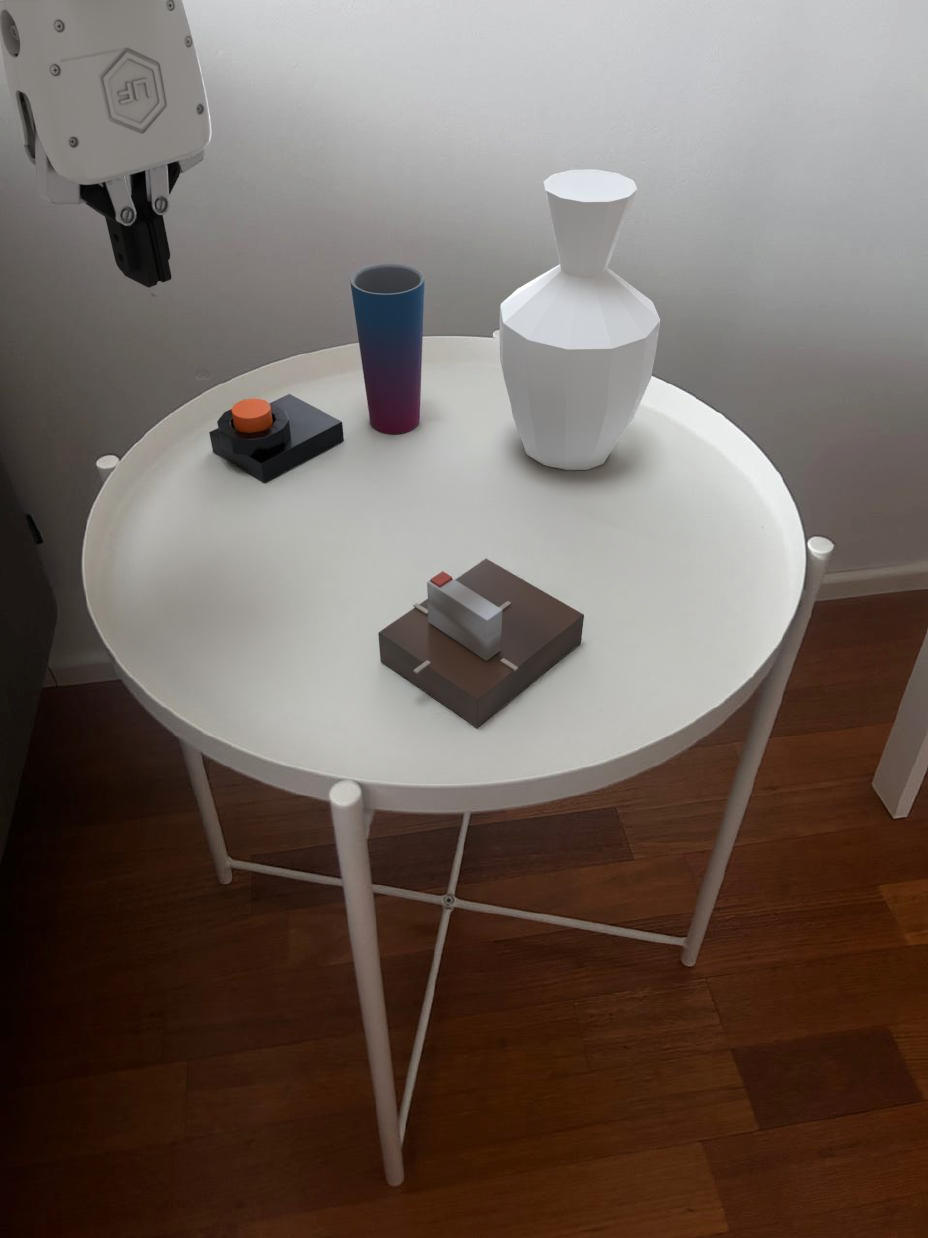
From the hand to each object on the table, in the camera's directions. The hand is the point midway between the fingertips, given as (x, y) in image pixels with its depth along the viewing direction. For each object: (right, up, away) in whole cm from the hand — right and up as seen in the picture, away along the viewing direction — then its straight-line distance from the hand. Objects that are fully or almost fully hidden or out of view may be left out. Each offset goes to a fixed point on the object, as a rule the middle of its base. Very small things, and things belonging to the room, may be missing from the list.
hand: (147, 277), depth 64 cm
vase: (+30, -5, +35) cm, 46 cm away
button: (0, -3, +31) cm, 31 cm away
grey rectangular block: (+20, -23, +10) cm, 32 cm away
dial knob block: (+22, -24, +13) cm, 35 cm away
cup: (+13, -2, +38) cm, 41 cm away
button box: (+2, -5, +35) cm, 35 cm away
